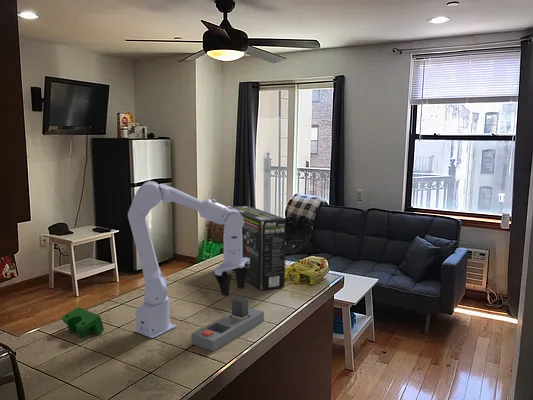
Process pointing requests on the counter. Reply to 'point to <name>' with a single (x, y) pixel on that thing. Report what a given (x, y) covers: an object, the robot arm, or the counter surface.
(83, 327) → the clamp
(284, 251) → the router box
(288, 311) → the counter surface
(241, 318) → the plug
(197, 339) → the power strip
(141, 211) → the robot arm
